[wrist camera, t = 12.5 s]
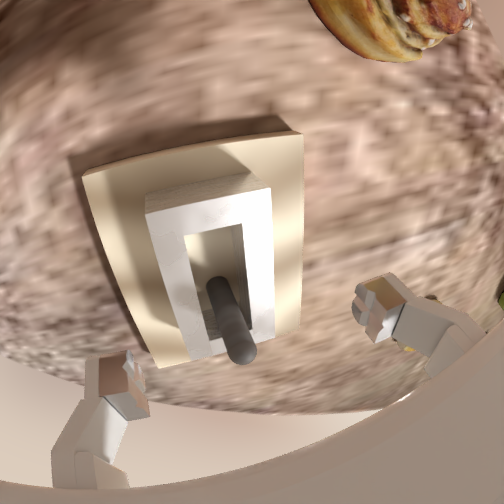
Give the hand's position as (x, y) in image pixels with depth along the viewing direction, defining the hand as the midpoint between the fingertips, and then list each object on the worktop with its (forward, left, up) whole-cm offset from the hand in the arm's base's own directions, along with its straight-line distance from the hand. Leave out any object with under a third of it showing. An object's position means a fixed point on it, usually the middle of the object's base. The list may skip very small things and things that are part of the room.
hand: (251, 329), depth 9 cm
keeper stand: (+5, 0, -11) cm, 12 cm away
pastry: (-17, +15, -12) cm, 25 cm away
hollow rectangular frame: (+4, 0, -10) cm, 10 cm away
